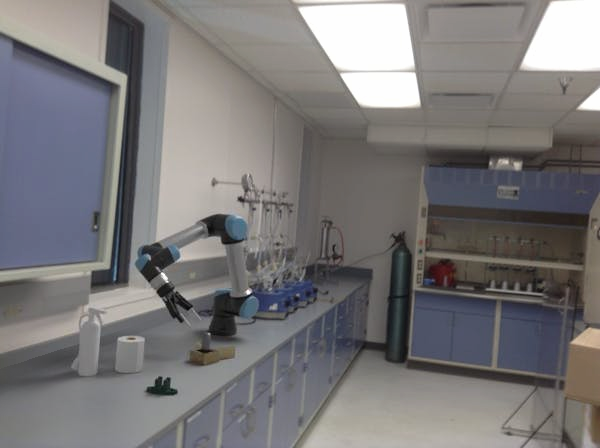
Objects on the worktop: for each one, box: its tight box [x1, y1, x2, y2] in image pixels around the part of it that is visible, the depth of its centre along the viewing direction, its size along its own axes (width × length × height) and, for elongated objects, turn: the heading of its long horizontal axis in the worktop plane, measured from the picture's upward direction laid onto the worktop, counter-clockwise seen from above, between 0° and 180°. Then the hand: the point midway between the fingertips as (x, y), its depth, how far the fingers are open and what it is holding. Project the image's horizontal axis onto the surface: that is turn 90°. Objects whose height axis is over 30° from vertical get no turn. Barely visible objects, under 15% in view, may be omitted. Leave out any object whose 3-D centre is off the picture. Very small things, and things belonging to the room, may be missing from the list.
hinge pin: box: [201, 331, 212, 353], centre depth 225 cm, size 4×4×12 cm
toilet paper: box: [114, 335, 146, 374], centre depth 205 cm, size 10×10×12 cm
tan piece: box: [189, 341, 236, 366], centre depth 232 cm, size 20×18×4 cm
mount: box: [146, 375, 179, 396], centre depth 184 cm, size 11×4×5 cm, turn 85°
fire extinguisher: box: [70, 306, 109, 377], centre depth 196 cm, size 7×12×25 cm, turn 77°
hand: (193, 324), depth 224 cm, fingers open, 13 cm apart
